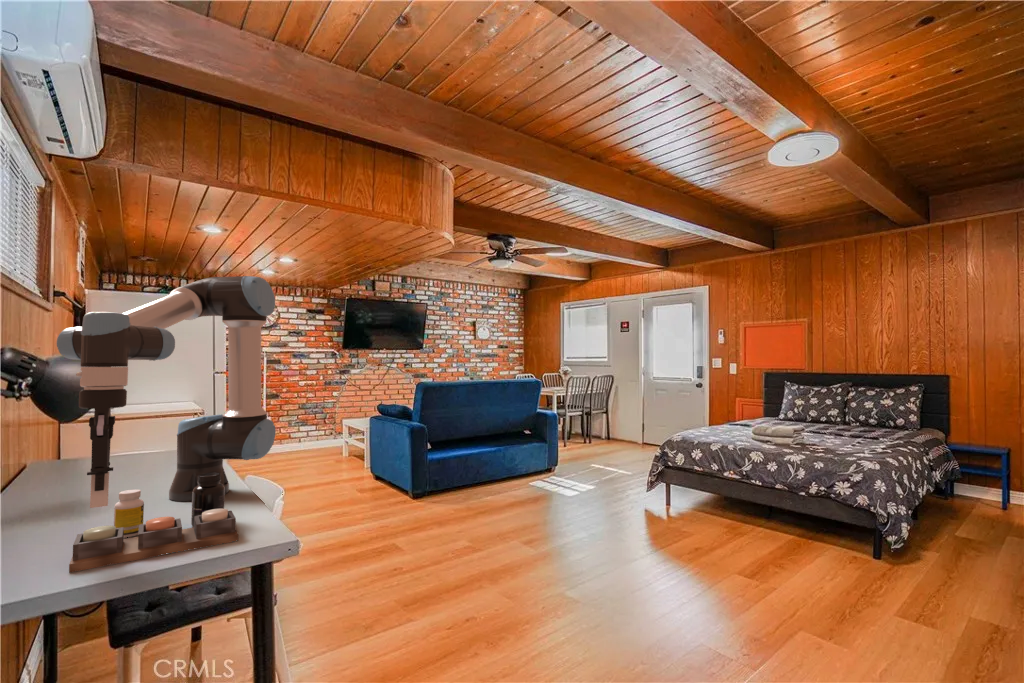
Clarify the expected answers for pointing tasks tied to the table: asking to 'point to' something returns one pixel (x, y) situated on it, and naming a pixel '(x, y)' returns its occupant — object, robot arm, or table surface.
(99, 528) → the sage button
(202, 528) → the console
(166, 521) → the terracotta button
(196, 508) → the supplement bottle
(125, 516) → the supplement bottle
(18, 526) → the table surface
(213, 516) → the peach rounded block
